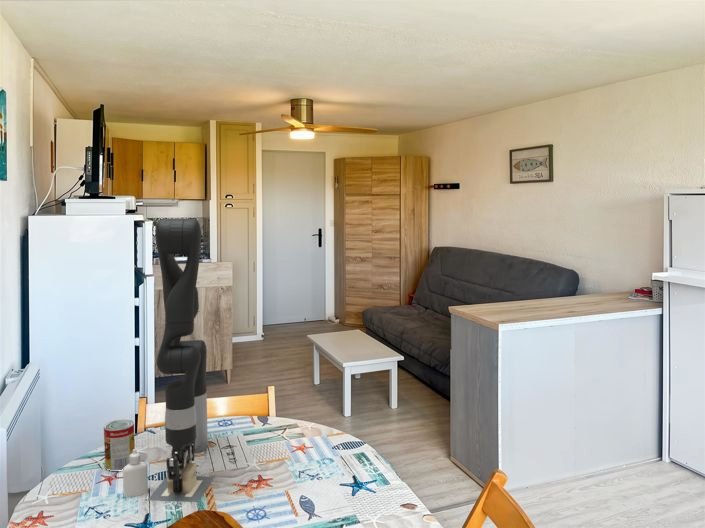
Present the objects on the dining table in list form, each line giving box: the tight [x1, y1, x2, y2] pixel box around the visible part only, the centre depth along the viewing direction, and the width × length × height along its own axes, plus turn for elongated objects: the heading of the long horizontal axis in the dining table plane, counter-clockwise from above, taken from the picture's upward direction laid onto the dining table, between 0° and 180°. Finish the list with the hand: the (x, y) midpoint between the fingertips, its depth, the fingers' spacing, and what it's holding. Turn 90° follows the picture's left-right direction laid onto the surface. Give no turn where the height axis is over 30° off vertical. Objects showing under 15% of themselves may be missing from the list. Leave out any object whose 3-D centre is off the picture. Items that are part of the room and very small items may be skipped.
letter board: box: [147, 475, 216, 503], centre depth 141 cm, size 13×13×1 cm
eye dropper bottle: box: [122, 448, 149, 498], centre depth 138 cm, size 4×6×12 cm
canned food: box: [103, 418, 136, 470], centre depth 154 cm, size 8×8×12 cm
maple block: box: [166, 462, 197, 494], centre depth 140 cm, size 6×6×6 cm
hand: (182, 485), depth 140 cm, fingers closed on maple block, 5 cm apart
